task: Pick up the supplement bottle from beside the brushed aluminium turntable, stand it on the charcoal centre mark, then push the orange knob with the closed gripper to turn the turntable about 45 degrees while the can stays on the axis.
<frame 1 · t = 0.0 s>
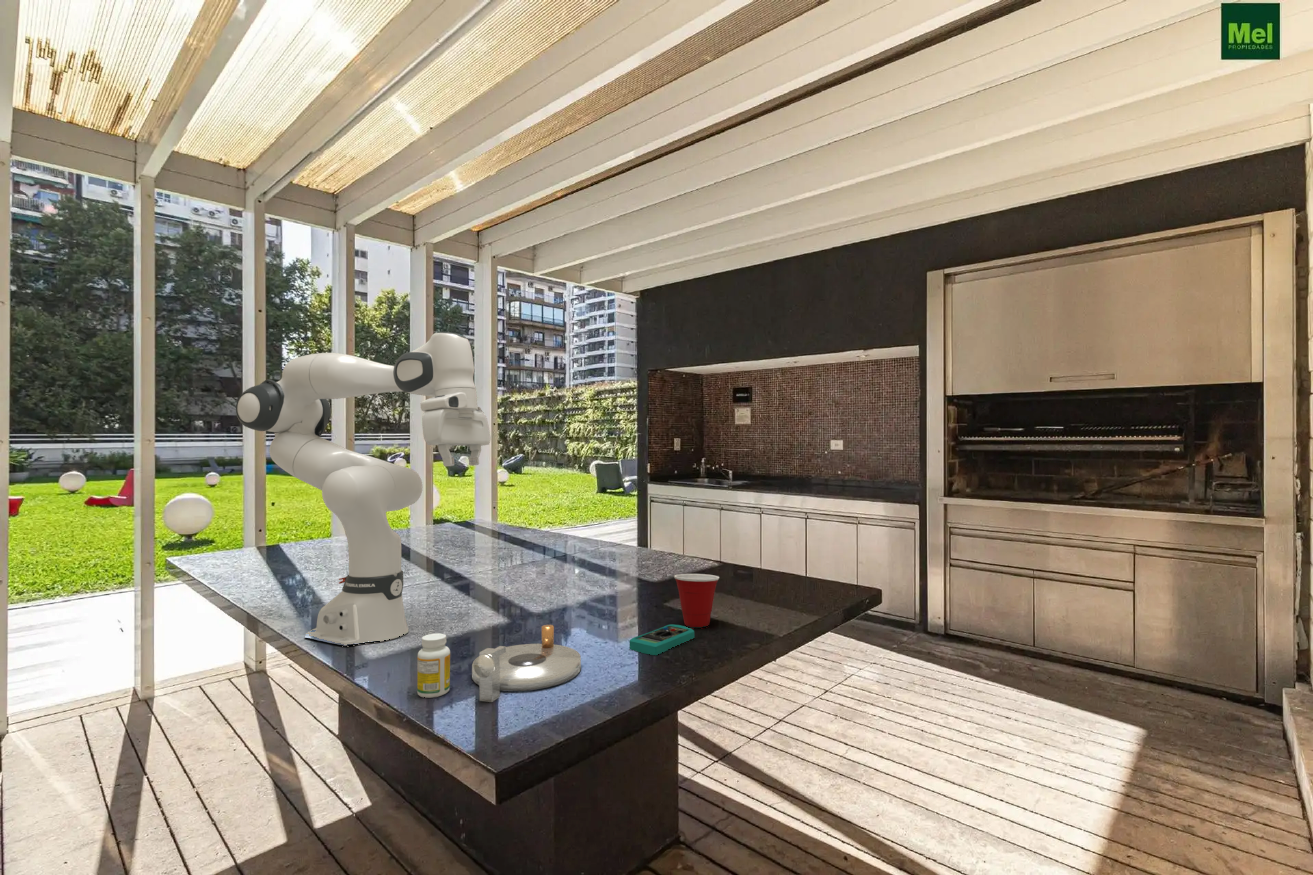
hand: (462, 465, 136), 39 cm above the table, tool pointing down, fingers open, 8 cm apart
digital multimeter: (662, 647, 132), on the table
supplement bottle: (433, 693, 106), on the table
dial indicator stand: (489, 698, 103), on the table
plastic cup: (697, 626, 146), on the table
turntable: (527, 654, 116), point 3 cm above the table, hinge at 0.0°
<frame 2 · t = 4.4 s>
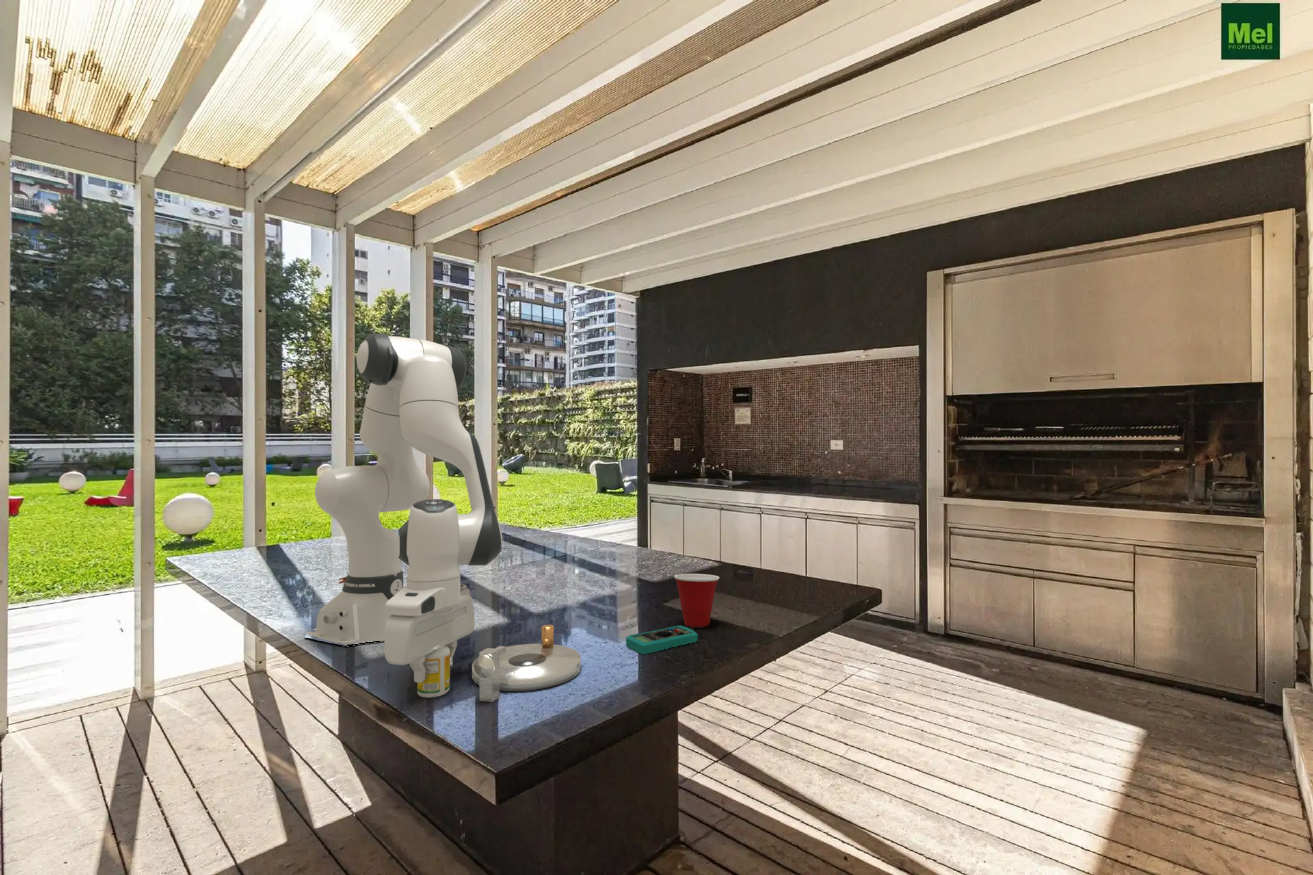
hand: (433, 674, 106), 3 cm above the table, tool pointing down, fingers closed on supplement bottle, 5 cm apart
supplement bottle: (433, 693, 106), on the table, touching gripper
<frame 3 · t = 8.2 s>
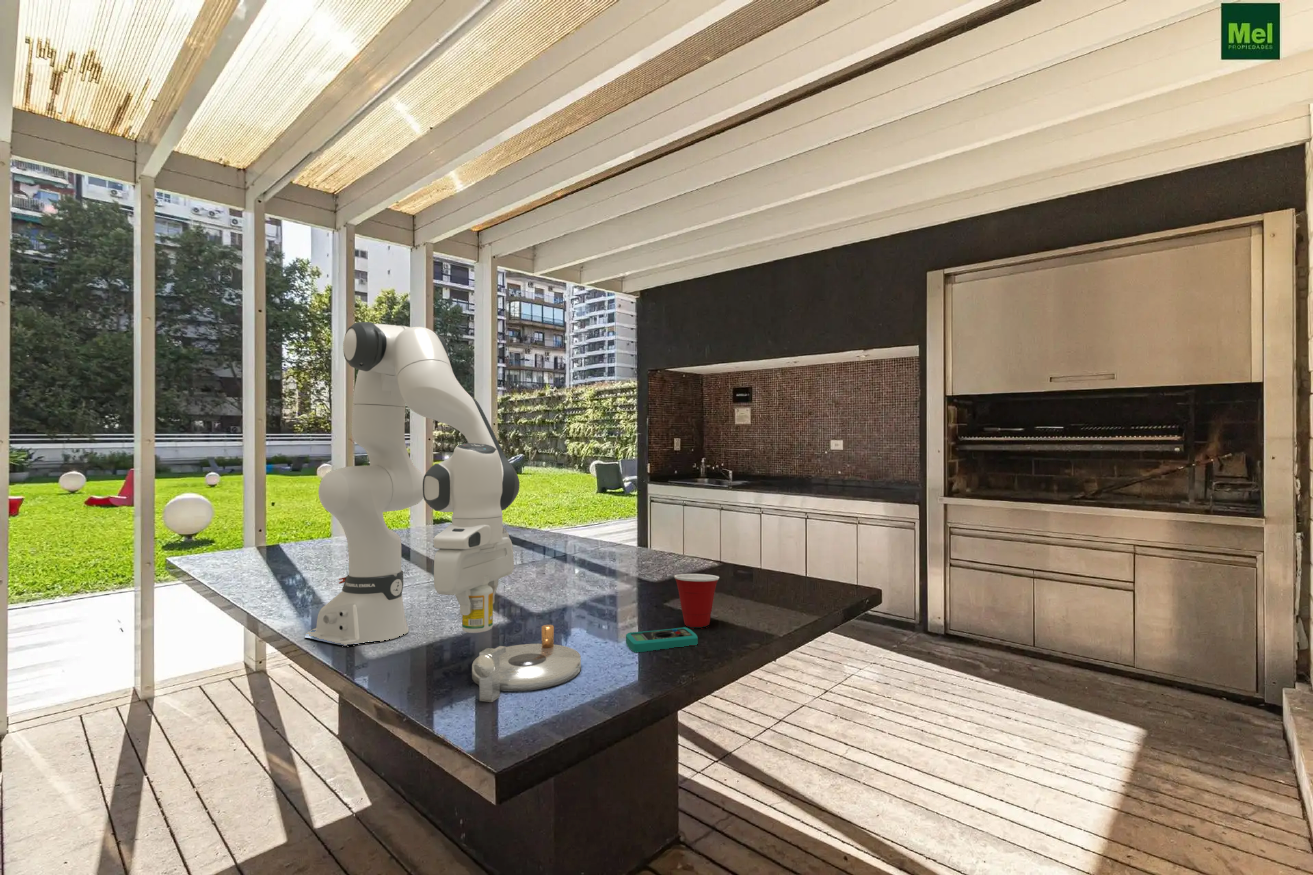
hand: (477, 609, 111), 13 cm above the table, tool pointing down, fingers closed on supplement bottle, 5 cm apart
supplement bottle: (477, 630, 111), point 9 cm above the table, touching gripper
when the fingers open (7 cm above the table, at t = 12.2 s): supplement bottle stays where it is, resting on turntable.
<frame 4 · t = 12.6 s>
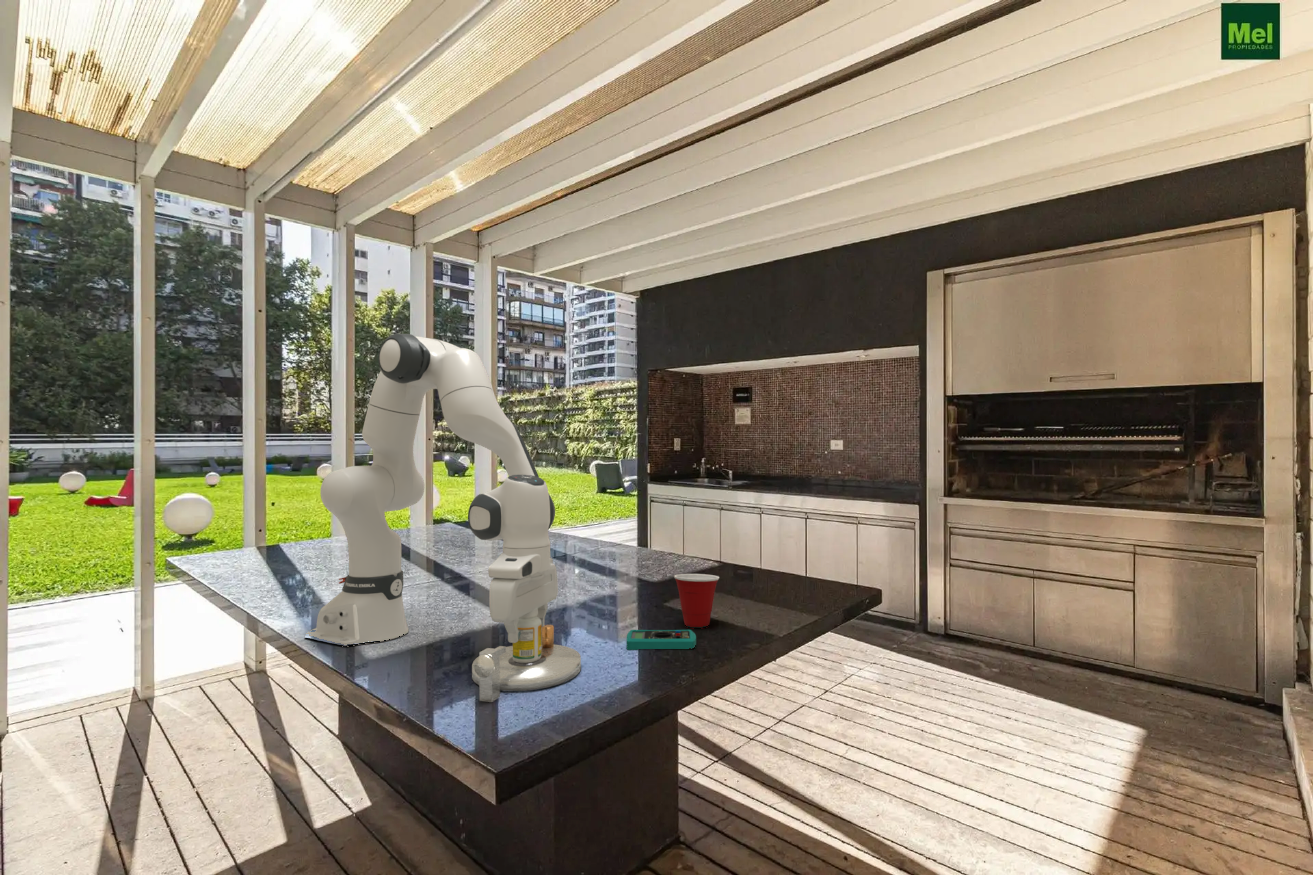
hand: (527, 634, 116), 7 cm above the table, tool pointing down, fingers open, 8 cm apart
supplement bottle: (527, 660, 116), point 2 cm above the table, touching turntable
turntable: (527, 654, 116), point 3 cm above the table, hinge at 0.0°, touching supplement bottle
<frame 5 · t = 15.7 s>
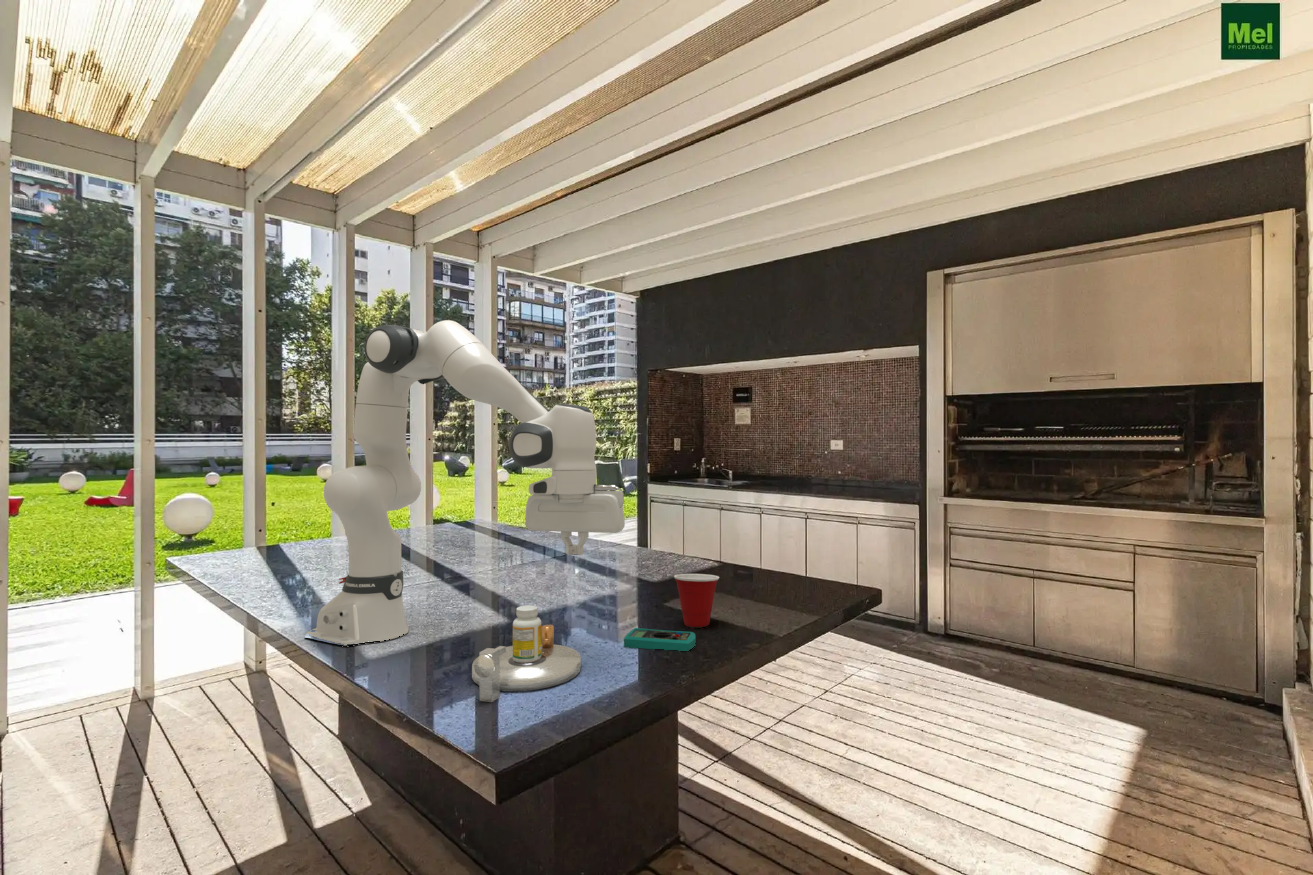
hand: (574, 554, 121), 21 cm above the table, tool pointing down, fingers closed
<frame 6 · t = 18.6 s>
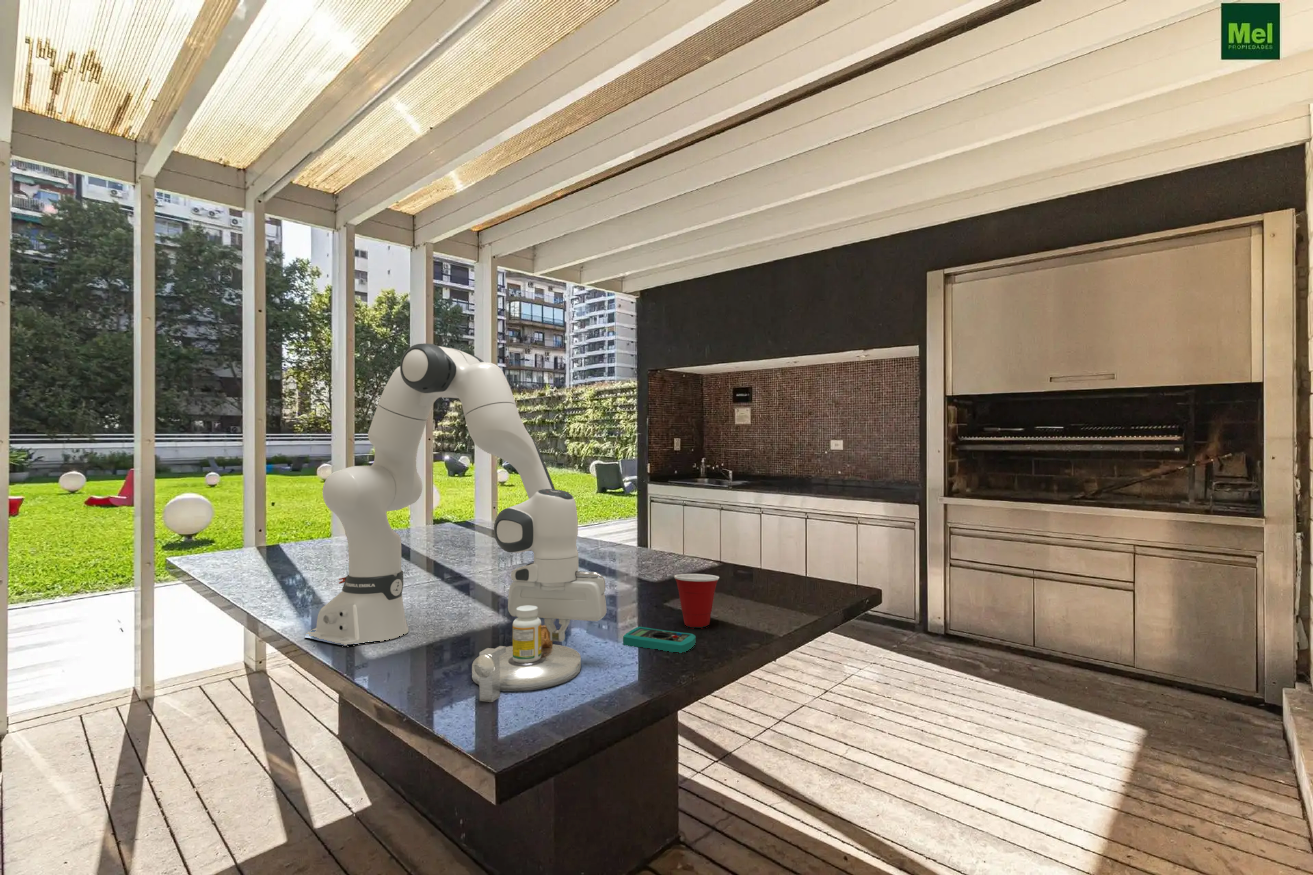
hand: (557, 640, 122), 4 cm above the table, tool pointing down, fingers closed
turntable: (527, 654, 116), point 3 cm above the table, hinge at 1.6°, touching supplement bottle, gripper
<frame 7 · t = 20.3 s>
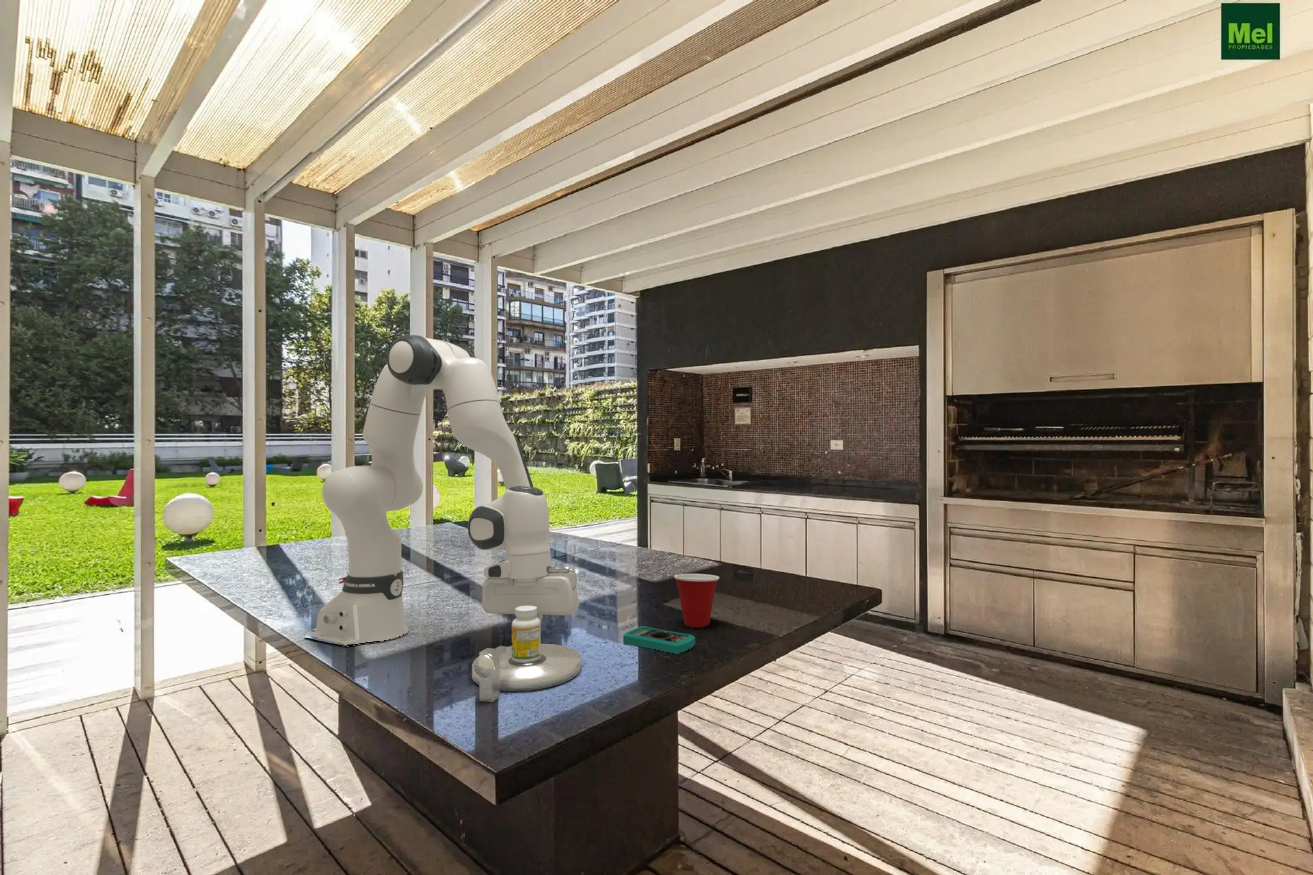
hand: (531, 636, 123), 5 cm above the table, tool pointing down, fingers closed
turntable: (527, 654, 116), point 3 cm above the table, hinge at 36.8°, touching supplement bottle, gripper
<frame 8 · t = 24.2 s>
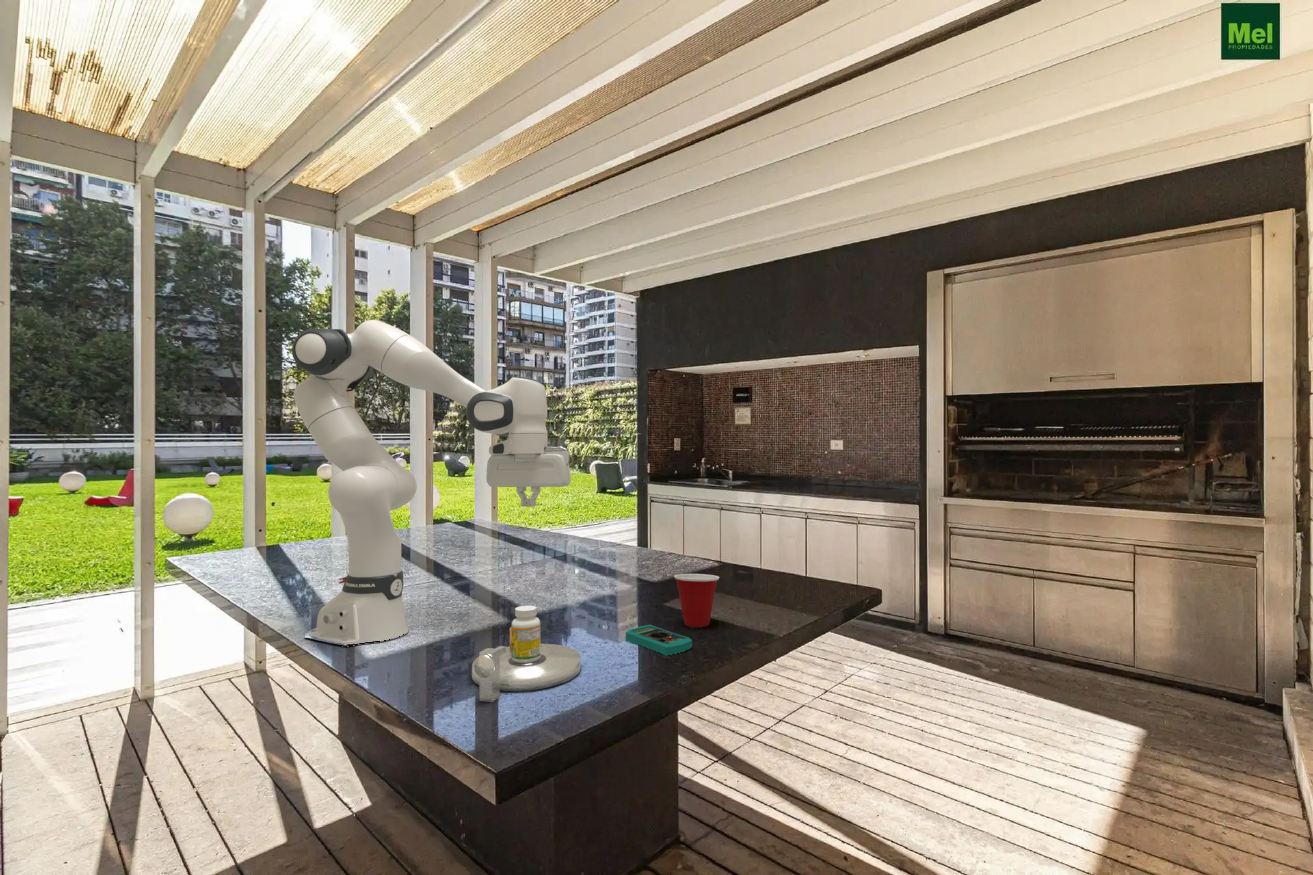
hand: (528, 506, 142), 29 cm above the table, tool pointing down, fingers closed
turntable: (527, 654, 116), point 3 cm above the table, hinge at 43.8°, touching supplement bottle
at the end: supplement bottle 0.3 cm off-centre on the turntable, point 2.2 cm above the turntable's base; supplement bottle tilted 0°; turntable at +44° (first picture: +0°) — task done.
